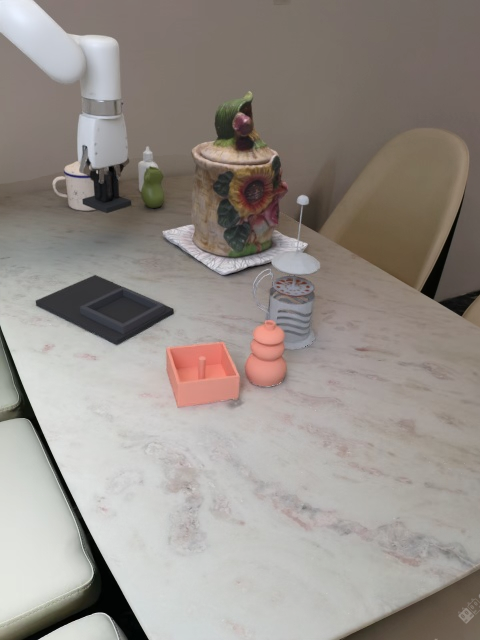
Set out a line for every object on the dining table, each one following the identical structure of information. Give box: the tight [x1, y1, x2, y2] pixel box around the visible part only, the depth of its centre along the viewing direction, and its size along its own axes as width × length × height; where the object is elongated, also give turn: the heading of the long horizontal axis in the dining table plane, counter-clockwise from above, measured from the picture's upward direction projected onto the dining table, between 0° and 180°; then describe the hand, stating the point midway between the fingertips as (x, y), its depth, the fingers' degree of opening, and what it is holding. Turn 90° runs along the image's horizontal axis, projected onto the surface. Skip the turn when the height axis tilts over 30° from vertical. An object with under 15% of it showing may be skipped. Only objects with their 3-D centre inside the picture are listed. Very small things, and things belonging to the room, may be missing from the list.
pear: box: [140, 166, 165, 209], centre depth 148 cm, size 6×5×10 cm
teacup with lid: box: [52, 160, 98, 212], centre depth 144 cm, size 12×9×12 cm
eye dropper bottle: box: [137, 146, 159, 193], centre depth 156 cm, size 4×6×12 cm
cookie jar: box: [162, 91, 309, 276], centre depth 126 cm, size 25×25×32 cm
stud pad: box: [82, 170, 132, 214], centre depth 126 cm, size 7×7×7 cm
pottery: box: [165, 319, 288, 408], centre depth 89 cm, size 18×10×10 cm, turn 108°
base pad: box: [35, 274, 175, 346], centre depth 106 cm, size 20×14×2 cm
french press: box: [252, 194, 321, 351], centre depth 98 cm, size 10×12×25 cm
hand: (106, 197), depth 127 cm, fingers closed on stud pad, 2 cm apart
